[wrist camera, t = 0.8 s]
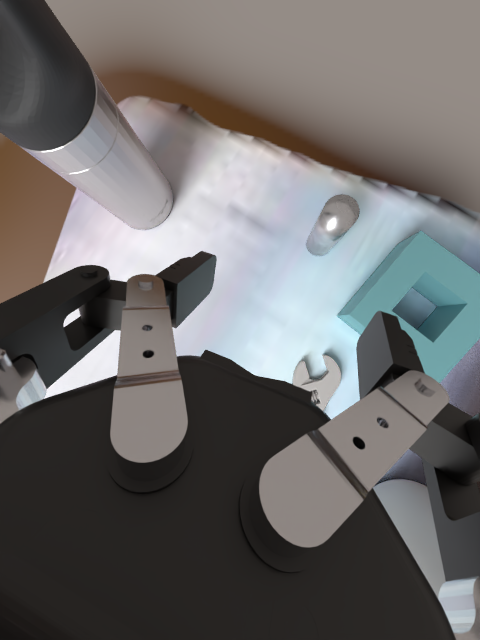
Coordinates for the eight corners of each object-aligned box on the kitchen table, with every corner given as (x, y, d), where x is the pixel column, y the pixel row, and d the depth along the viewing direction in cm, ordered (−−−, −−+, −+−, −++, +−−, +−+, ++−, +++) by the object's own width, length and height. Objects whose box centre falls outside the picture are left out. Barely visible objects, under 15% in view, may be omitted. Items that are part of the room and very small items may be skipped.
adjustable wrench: (309, 529, 35) (311, 540, 33) (265, 518, 36) (265, 528, 34) (340, 359, 35) (344, 361, 33) (295, 350, 36) (297, 352, 34)
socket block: (336, 315, 35) (349, 314, 30) (397, 244, 34) (420, 230, 29) (412, 375, 34) (438, 384, 29) (476, 302, 33) (514, 299, 28)
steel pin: (301, 245, 35) (315, 215, 25) (317, 226, 35) (338, 187, 25) (320, 261, 35) (343, 236, 25) (337, 241, 35) (366, 208, 25)
